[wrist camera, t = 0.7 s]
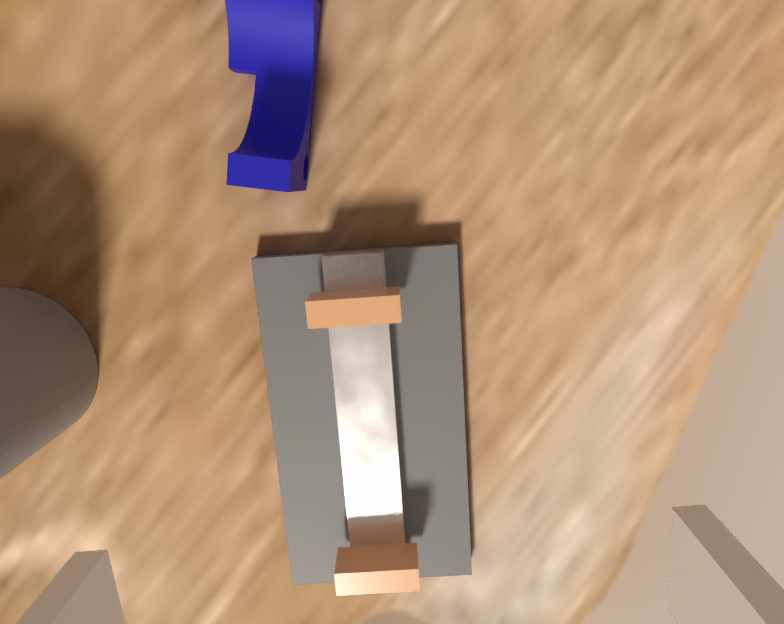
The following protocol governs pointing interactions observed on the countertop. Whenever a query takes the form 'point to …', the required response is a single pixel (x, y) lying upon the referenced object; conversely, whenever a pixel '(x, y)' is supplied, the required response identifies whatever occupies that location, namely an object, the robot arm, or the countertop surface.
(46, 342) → the coffee mug
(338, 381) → the rail mount
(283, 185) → the cable clip
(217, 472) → the countertop surface
